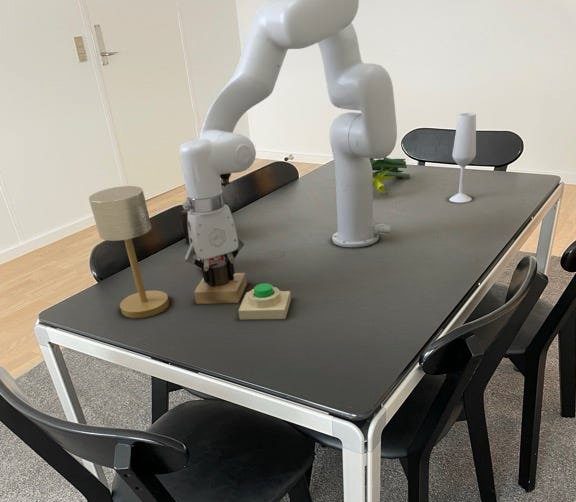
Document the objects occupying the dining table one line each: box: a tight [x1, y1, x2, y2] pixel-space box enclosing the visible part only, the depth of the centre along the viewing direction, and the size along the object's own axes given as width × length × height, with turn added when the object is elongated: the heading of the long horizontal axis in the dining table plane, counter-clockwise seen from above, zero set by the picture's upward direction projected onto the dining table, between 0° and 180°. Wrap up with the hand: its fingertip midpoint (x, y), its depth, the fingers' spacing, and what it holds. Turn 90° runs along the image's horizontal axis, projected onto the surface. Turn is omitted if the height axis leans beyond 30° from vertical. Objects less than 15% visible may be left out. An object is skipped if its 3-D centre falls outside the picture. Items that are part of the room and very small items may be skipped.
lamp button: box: [253, 282, 274, 298], centre depth 121 cm, size 4×4×2 cm
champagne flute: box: [448, 112, 477, 204], centre depth 166 cm, size 7×7×24 cm
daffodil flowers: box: [369, 157, 411, 195], centre depth 185 cm, size 17×15×35 cm
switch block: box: [238, 286, 292, 320], centre depth 122 cm, size 10×9×4 cm
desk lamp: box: [88, 185, 170, 319], centre depth 123 cm, size 11×11×26 cm
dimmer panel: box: [193, 272, 248, 305], centre depth 131 cm, size 10×10×3 cm
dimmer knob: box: [209, 260, 230, 286], centre depth 129 cm, size 4×4×5 cm
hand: (220, 280), depth 130 cm, fingers closed on dimmer knob, 4 cm apart
